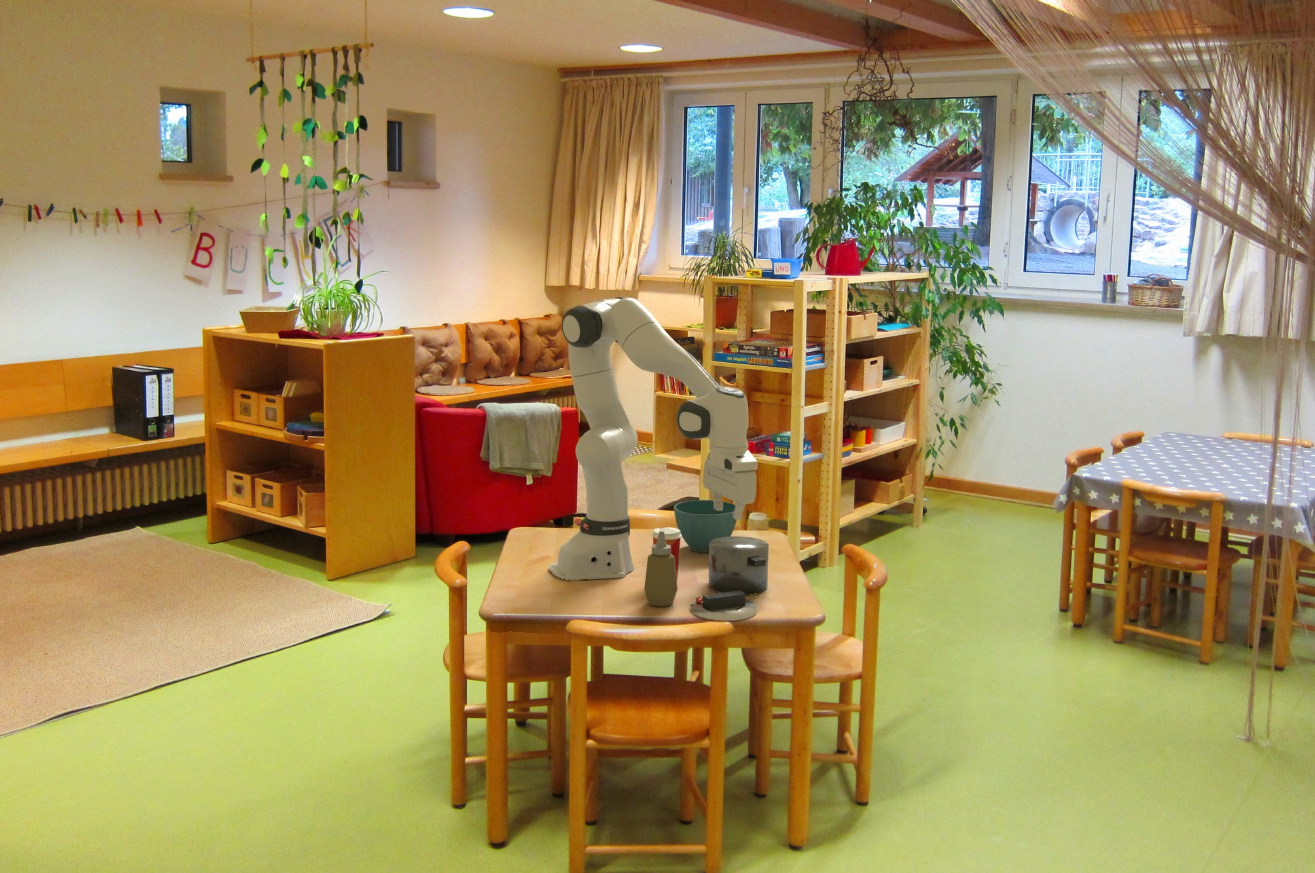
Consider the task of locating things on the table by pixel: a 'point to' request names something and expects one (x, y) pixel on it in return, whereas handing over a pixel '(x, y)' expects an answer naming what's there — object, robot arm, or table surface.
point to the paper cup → (670, 541)
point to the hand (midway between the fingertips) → (727, 514)
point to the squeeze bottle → (661, 574)
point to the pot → (738, 564)
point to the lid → (724, 606)
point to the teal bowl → (703, 522)
